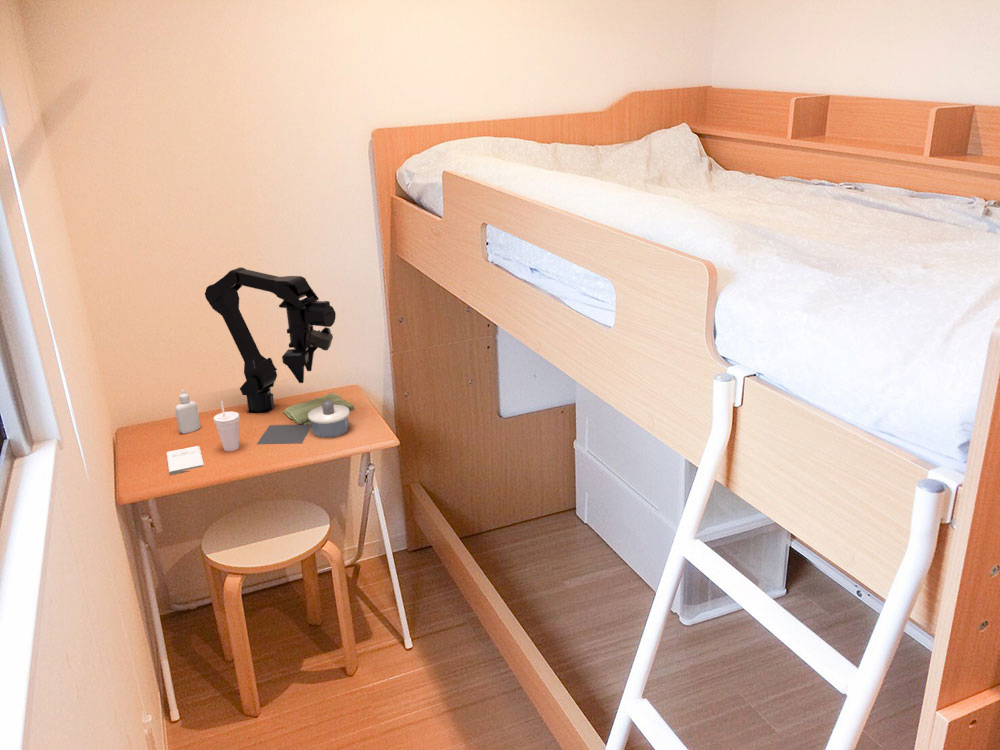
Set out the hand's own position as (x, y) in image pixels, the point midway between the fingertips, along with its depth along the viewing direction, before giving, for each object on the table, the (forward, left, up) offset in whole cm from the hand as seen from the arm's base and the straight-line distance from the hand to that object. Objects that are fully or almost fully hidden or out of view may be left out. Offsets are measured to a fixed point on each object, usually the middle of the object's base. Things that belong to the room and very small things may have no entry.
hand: (305, 376), depth 223 cm
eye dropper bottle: (-32, -7, -13) cm, 35 cm away
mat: (-4, -12, -12) cm, 18 cm away
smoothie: (-16, -20, -13) cm, 29 cm away
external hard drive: (-26, -26, -13) cm, 39 cm away
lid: (+8, -10, -8) cm, 15 cm away
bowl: (+8, -10, -12) cm, 18 cm away
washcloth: (+2, +3, -13) cm, 14 cm away
